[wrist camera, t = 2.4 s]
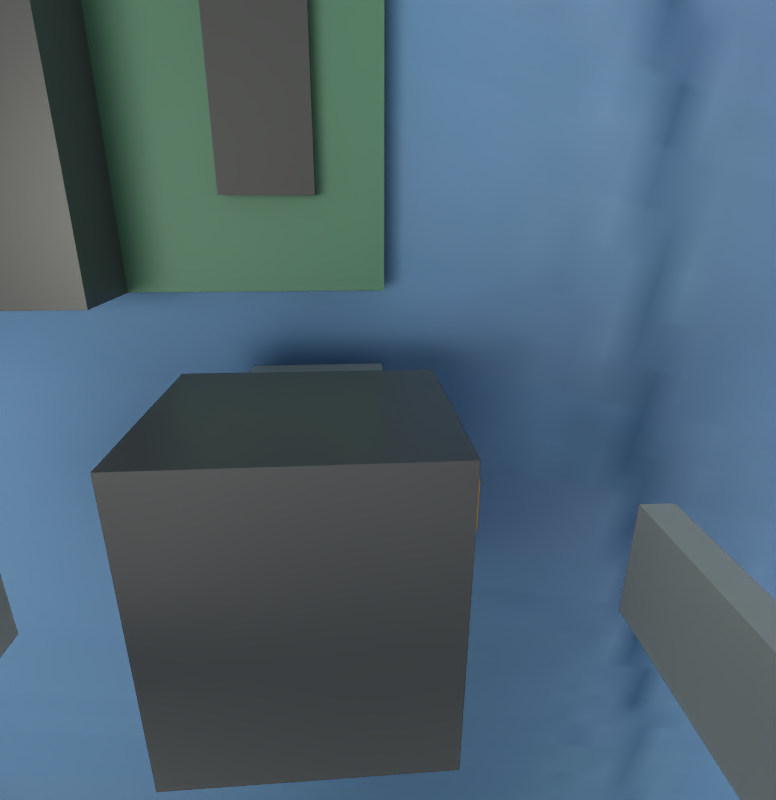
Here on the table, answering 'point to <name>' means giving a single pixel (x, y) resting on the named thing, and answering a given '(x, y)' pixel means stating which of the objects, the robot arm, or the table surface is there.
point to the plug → (295, 573)
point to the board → (243, 141)
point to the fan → (53, 165)
